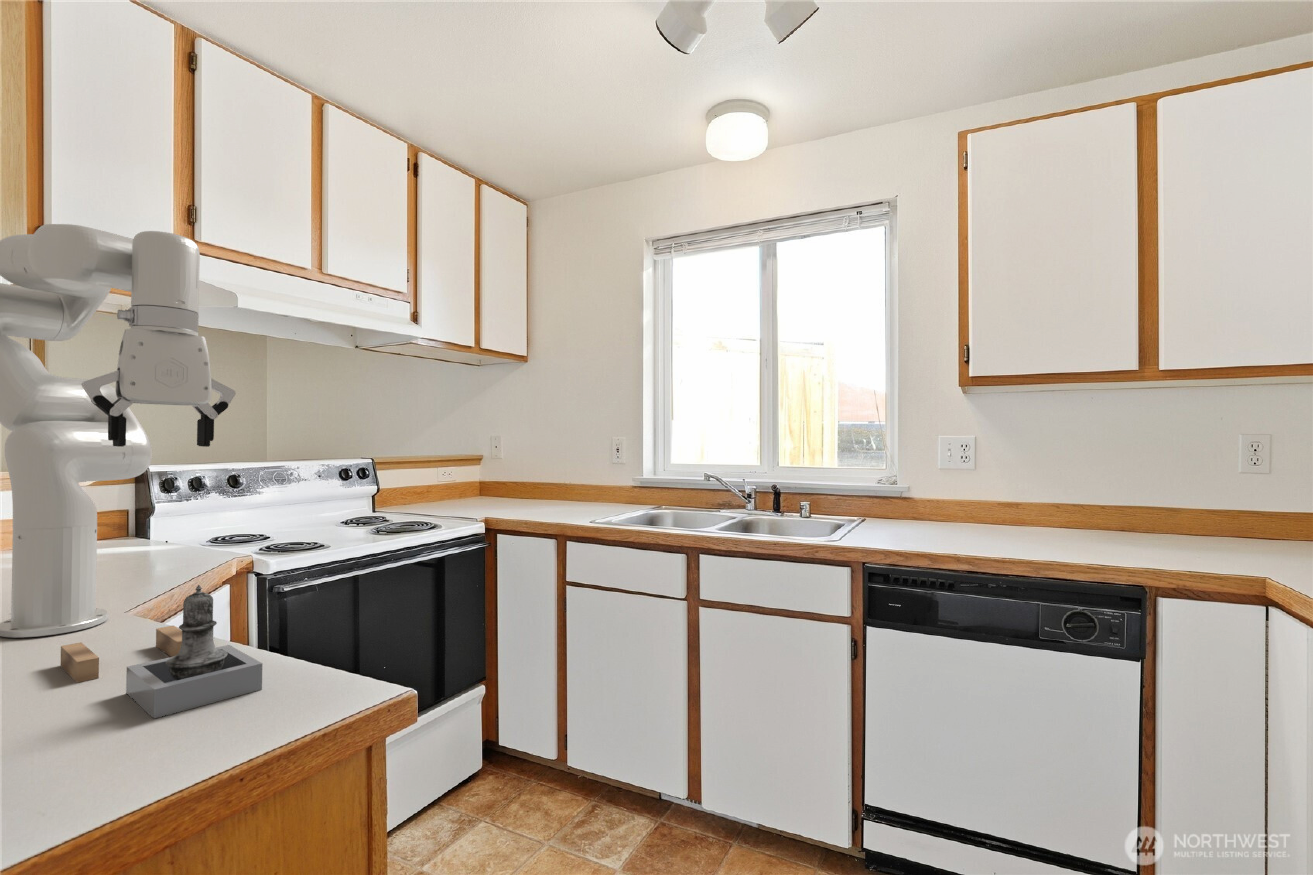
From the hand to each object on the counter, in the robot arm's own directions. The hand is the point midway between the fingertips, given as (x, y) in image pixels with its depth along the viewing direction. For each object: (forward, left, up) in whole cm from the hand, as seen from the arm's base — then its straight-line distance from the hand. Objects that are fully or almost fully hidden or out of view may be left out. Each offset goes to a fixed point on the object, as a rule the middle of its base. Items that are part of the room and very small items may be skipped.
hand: (163, 446), depth 90 cm
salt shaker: (+22, -2, -28) cm, 35 cm away
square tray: (+21, -2, -28) cm, 35 cm away
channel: (+3, -4, -28) cm, 29 cm away
